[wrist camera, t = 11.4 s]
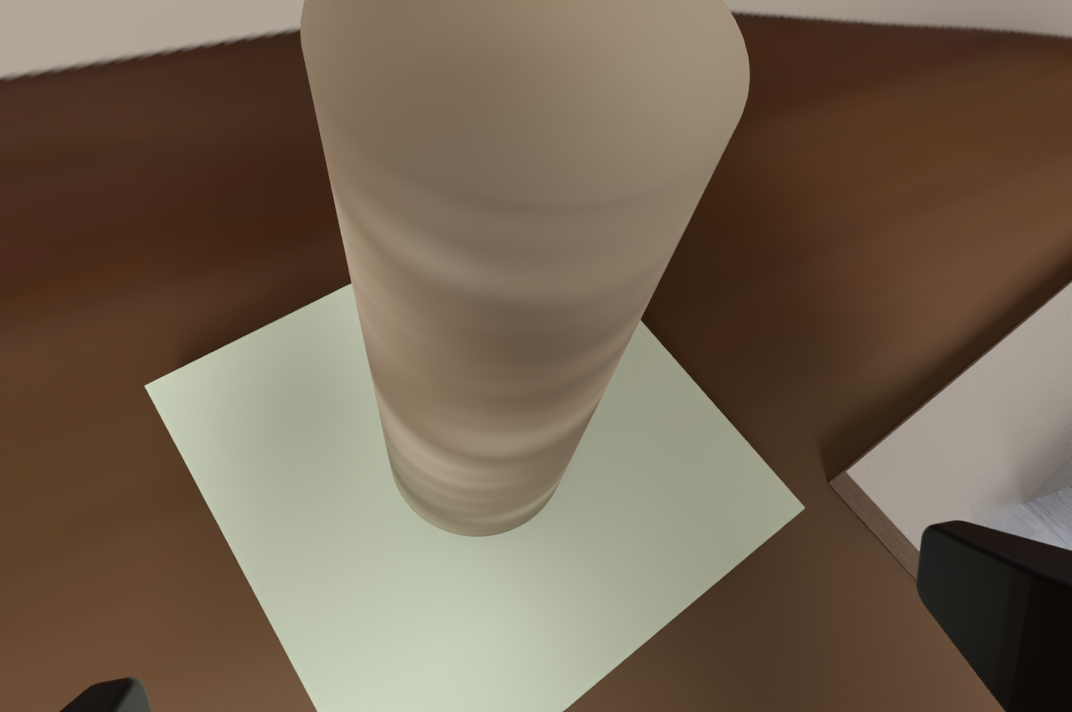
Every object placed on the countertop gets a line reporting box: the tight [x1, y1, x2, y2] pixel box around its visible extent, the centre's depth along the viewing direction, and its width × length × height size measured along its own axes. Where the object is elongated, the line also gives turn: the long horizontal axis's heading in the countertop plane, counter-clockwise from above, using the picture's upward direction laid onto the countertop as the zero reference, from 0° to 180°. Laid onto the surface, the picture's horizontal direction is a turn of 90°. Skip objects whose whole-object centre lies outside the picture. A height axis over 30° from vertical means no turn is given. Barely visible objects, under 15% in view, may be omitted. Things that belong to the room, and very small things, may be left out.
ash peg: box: [301, 0, 750, 537], centre depth 12 cm, size 4×4×12 cm
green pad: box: [145, 283, 805, 712], centre depth 18 cm, size 12×12×2 cm
